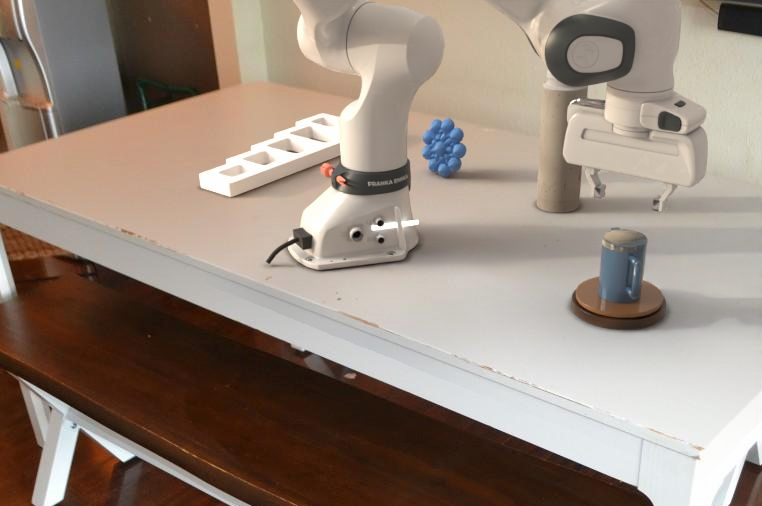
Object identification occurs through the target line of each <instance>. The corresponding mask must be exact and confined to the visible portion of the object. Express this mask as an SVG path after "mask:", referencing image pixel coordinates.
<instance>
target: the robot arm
mask: <svg viewBox="0 0 762 506" xmlns="http://www.w3.org/2000/svg"><path fill="white" fill-rule="evenodd" d="M483 1H484V2H485V3H487V4H488V5H490V6H491V7H493V8H494V9H495V10H497V11H498V12H500V13H501V14H502V15H504V16H505V17H507V19H509V20H510V21H512V22H513V23H515V24H516V25H517V26H518V27H519V28H520V29H521V31H522V32H523V33H524V35H525V36H526V38H527V40H528V43H529V45H530V46H531V48H532V50H533V51H534V53H535V54H536V55H537V56H538V57H539V58H540V59H541V61H542V63H543V64H544V66H545V67H546V69H547V71H548V70H549V72H550V73H551V74H552V75H553V76H554V77H555V78H556V79H557V80H558V81H560V82H561V83H563V84H566V85H569V86H573V87H582V86H588V87H589V86H594V85H599V84H600V85H601V84H605V83H606V88H605V89H606V90H605V99H599V98H590V97H588V96H587V97H578V99H575V100H573V101H572V102H571V103H570V104H569V106H568V110H567V122H568V127H567V131H566V135H565V140H564V147H563V156H564V158H565V160H566V162H567V163H570V164H575V165H580V166H582V167H584V168H585V169H584V170H585V171H584V174H585V177H586V179H587V182H588V183H589V185H590V189H591V191H590V197H591V198H593V199H598V200H602V199H603V198H605V196H606V189H607V184H605V183H602V182H601V179H600V176H599V174H598V173H599V172H601V171H606V172H611V173H616V174H621V175H626V176H631V177H636V178H641V179H646V180H650V181H655V182H659V183H662V190H665V191H664V192H663V194H662V195H657V196H656V197H654V198H653V200H652V207H651V210H652V211H654V212H658V213H665V211H666V210H667V208H668V201H669V198H670V197H671V196H672V194H673V193H674V192H675V190H676V189H677V188H678V186H681V187H685V188H693V187H695V186H696V185H697V184H699V183H700V182H701V181H702V180H703V179H704V178H705V176H706V173H707V167H708V155H709V154H708V153H709V152H708V151H709V142H708V135H707V132H706V130H705V129H704V128H703V127H702V125H703V124H704V123H705V122H706V119H707V114H708V113H707V109H706V108H705V107H704V106H703V105H701V104H699V103H696V102H694V101H693V100H691V99H689V98H687V97H685V96H684V95H681V94H680V93H678V92H677V91H675V90H674V89H675V77H674V64H675V62H676V58H677V56H678V53H679V49H680V48H679V47H680V40H681V39H680V38H681V25H682V2H681V0H483ZM292 2H293V3H294V4H295V6H296V7H297V9H298V10H299V12H300V16H299V18H298V22H297V25H296V26H297V27H296V38H297V43H298V47H299V49H300V51H301V53H302V54H303V56H304V57H305V58H306V59H307V60H309V61H311V62H313V63H315V64H316V65H319V66H321V67H323V68H325V69H327V70H330V71H333V72H338V73H343V74H348V75H353V76H359V77H360V78H361V89H360V93H359V97H358V98H357V99H355V100H353V101H352V102H350V103H348V104H347V105H346V106H345V107H344V108H343V110H342V111H341V113H340V115H339V116H338V117H339V136H340V153H341V155H340V160H339V162H338V164H337V165H336V166H335V167H334V166H333V165H331V164H330V163H329V162H323V164H322V165H321V166H320V173H321V174H322V175H324V176H325V177H326V178H327V179H328V178H329V179H330V182H331V185H330V186H329V187H328V188H327V189H326V190H325V191H324V192H323V193H321V194H320V195H319V196H318V197H317V198H315V200H314V201H312V202H311V203H310V204H309V205H308V206H307V207H305V208H304V209H303V211H302V214H301V218H300V224H299V227H298V228H293V229H292V235H291V236H289V238H288V240H287V241H286V242H284V243H282V244H280V245H279V246H278V247H277V248H275V249H274V250H273V251H272V252H271V253H270V254H269V256H268V257H267V259H266V260H265V262H266V263H267V264H268V265H270V264H271V263H272V262H273V260H274V259H275V258H276V257H277V255H278V254H279V253H281V252H282V251H284V250H285V249H286V248H287V250H288V252H289V254H290V255H291V256H292V258H293V259H294V260H296V261H297V262H298V263H300V264H301V265H302V266H304V267H307V268H309V269H313V270H317V271H324V270H332V269H333V270H334V269H341V268H348V267H349V268H350V267H358V266H364V265H372V264H373V265H375V264H382V263H388V262H389V263H391V262H399V261H402V260H404V259H406V257H407V255H408V253H409V251H411V250H412V249H414V248H415V247H417V245H418V243H419V241H420V238H419V235H418V232H417V229H416V225H417V226H418V225H419V220H418V219H415V220H414V217H413V210H412V206H411V196H410V191H411V187H412V171H411V161H410V159H409V158H408V132H409V131H408V127H409V115H410V110H411V106H412V105H413V101H414V98H415V97H416V94H417V92H418V91H419V90H420V88H421V87H422V86H423V85H424V84H425V83H426V82H427V81H429V80H430V79H431V78H432V77H434V75H435V74H436V73H437V72H438V70H439V68H440V66H441V64H442V62H443V59H444V55H445V38H444V33H443V30H442V28H441V26H440V24H439V22H438V21H437V20H436V19H435V18H434V17H432V16H430V15H428V14H425V13H423V12H421V11H418V10H416V9H413V8H411V7H407V6H401V5H396V4H395V5H394V4H387V3H380V2H375V1H371V0H292ZM575 102H577V103H578V104H576V103H575Z"/></svg>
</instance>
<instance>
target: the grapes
mask: <svg viewBox="0 0 762 506" xmlns="http://www.w3.org/2000/svg"><path fill="white" fill-rule="evenodd" d="M455 126H456V125H455V122H454V120H453V119H452V118H449V117H447V118H444V119H443V120H441V119H438V118H436V119H434V120H432V121H431V123H430V126H429V129H427V130H425V132H424V133H423V135H422V142H423V143H424V144H425V145H424V146H423V147H422V150H421V156H422V157H423V159H425V160H427V161H428V163H427V168H428V170H429V171H430V172H431V173H437V172H438V174H439V175H440V176H441V177H442V178H446V177H449V176H450V175H451V173H452V172H453V173H455V172H459V170H460V169H461V167H462V163H463V162H462V159H463V158H464V157H465V156H466V154H467V146H466V145H465V144H464V143H462V141H463V139H464V137H465V133H464V131H463V130H462V129H461V128H460V127H455Z"/></svg>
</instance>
